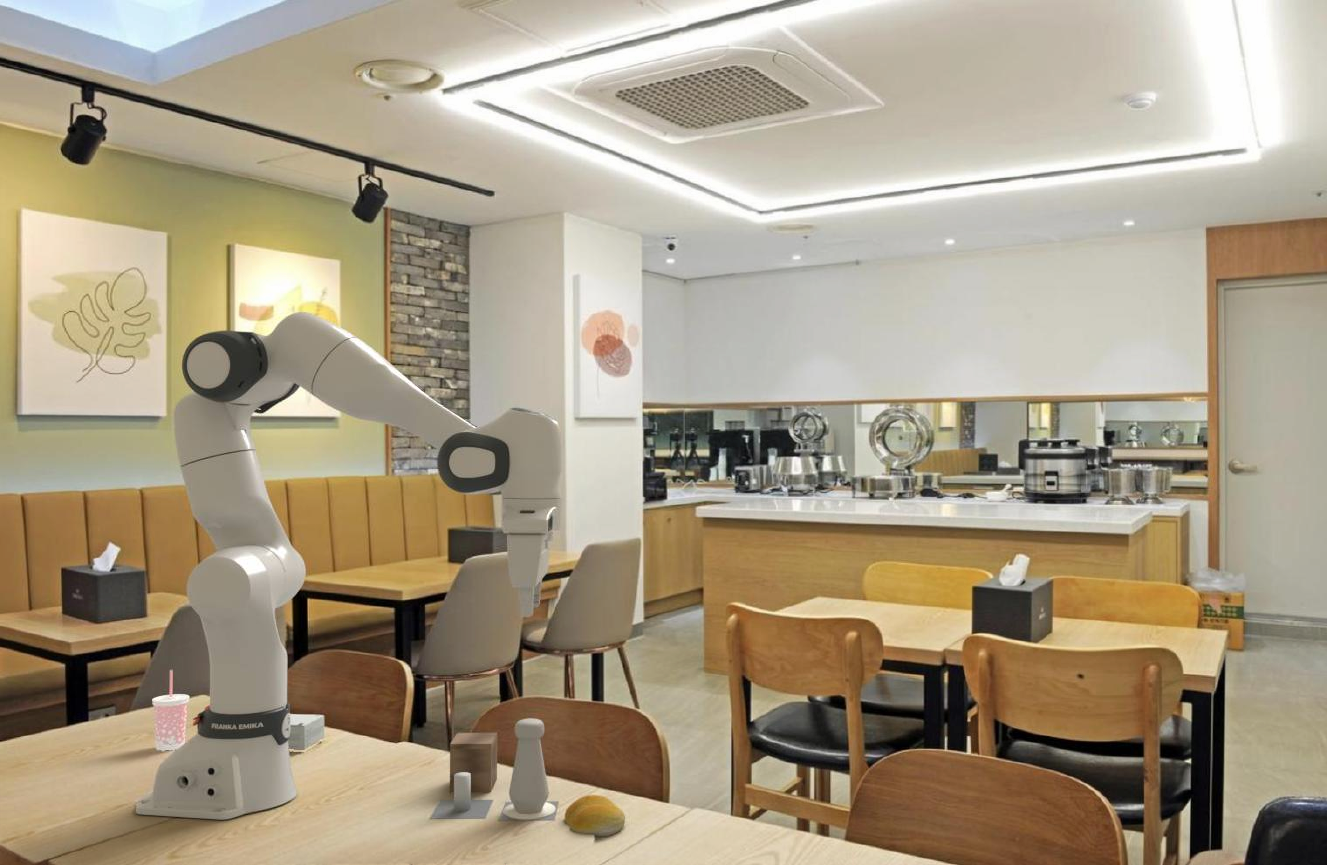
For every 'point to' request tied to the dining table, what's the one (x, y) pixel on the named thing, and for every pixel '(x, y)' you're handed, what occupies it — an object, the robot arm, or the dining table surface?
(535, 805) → the salt shaker
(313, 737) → the small box
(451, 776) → the brown wooden block
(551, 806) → the board
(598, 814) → the bread roll
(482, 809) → the board
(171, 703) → the beverage cup
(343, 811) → the dining table surface
